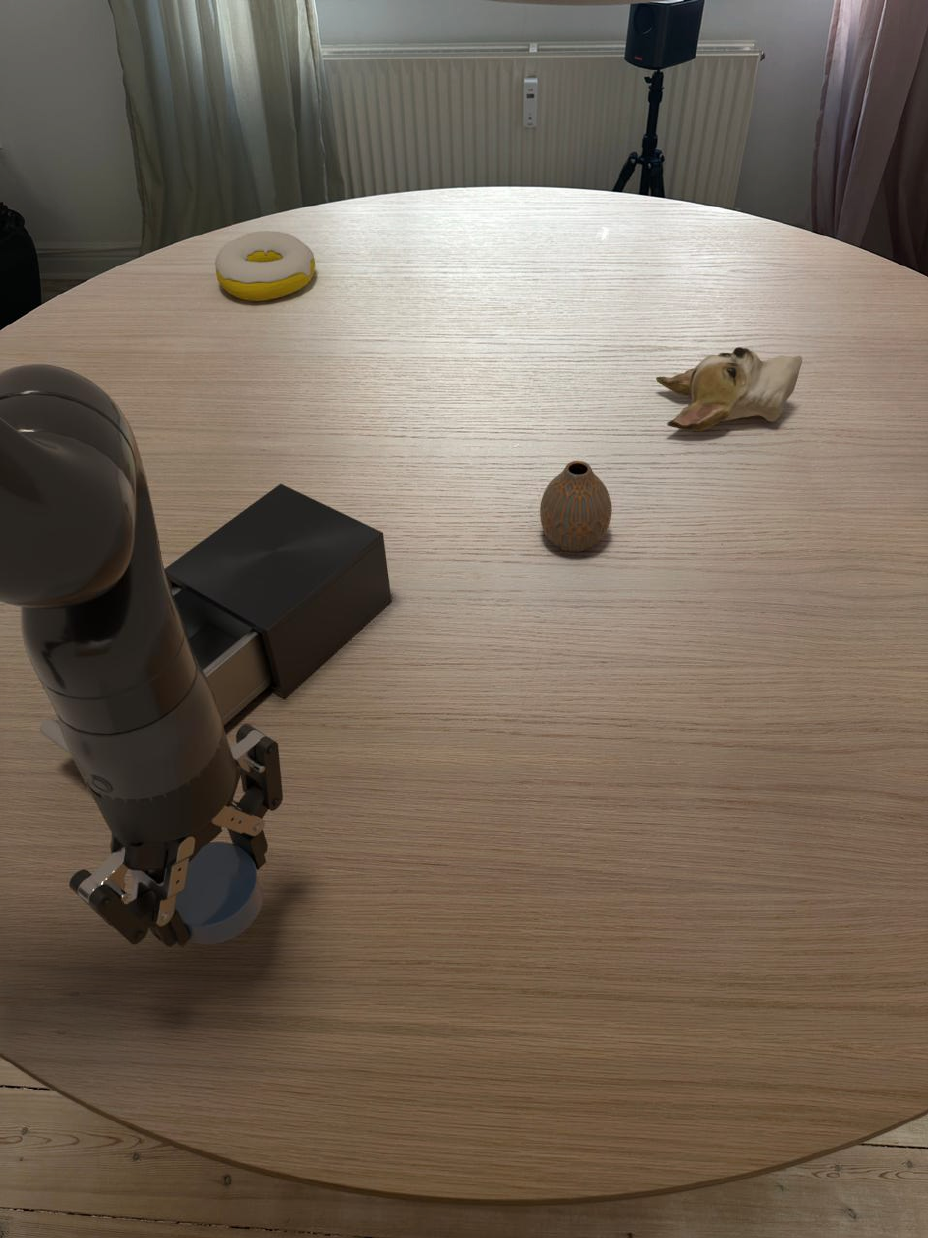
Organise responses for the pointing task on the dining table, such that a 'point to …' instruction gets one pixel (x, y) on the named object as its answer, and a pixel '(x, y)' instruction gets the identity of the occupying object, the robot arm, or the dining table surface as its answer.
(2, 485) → the robot arm
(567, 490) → the vase
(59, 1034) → the dining table surface
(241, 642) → the drawer
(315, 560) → the cabinet
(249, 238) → the donut
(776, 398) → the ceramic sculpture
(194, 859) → the cylinder
